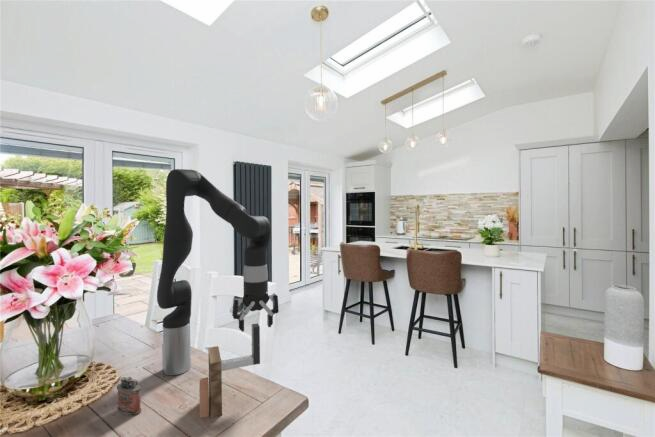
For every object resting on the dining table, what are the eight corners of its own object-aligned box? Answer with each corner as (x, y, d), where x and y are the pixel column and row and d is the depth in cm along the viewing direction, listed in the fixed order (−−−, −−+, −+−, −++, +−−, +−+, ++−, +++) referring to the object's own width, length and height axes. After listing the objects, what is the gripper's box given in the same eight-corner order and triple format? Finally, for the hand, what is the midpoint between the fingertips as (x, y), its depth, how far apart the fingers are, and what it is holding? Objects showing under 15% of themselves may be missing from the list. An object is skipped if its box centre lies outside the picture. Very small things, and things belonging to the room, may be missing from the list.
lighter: (114, 411, 93) (113, 378, 93) (125, 404, 96) (124, 373, 96) (133, 417, 90) (133, 383, 90) (144, 410, 93) (143, 377, 93)
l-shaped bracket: (215, 373, 94) (214, 333, 93) (214, 368, 97) (213, 329, 96) (260, 363, 99) (259, 326, 99) (258, 359, 102) (257, 323, 102)
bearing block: (211, 417, 90) (210, 363, 89) (209, 396, 100) (208, 347, 100) (222, 415, 91) (221, 361, 91) (218, 394, 101) (218, 346, 101)
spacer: (199, 417, 90) (199, 392, 90) (200, 402, 97) (199, 378, 97) (209, 415, 91) (208, 390, 91) (208, 400, 98) (208, 377, 98)
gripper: (274, 274, 106) (274, 321, 106) (231, 278, 100) (231, 327, 100) (280, 279, 99) (280, 329, 99) (234, 283, 93) (234, 336, 94)
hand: (255, 328), depth 100 cm, fingers open, 8 cm apart
